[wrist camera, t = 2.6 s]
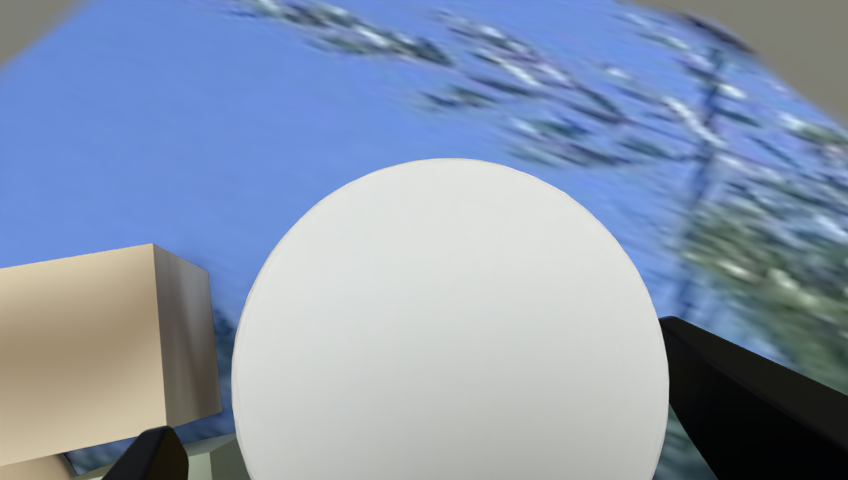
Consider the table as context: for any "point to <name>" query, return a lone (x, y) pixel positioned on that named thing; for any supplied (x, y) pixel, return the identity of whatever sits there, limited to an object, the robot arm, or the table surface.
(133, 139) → the table surface
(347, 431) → the supplement bottle
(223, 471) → the sage block
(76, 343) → the beech block
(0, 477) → the coaster
